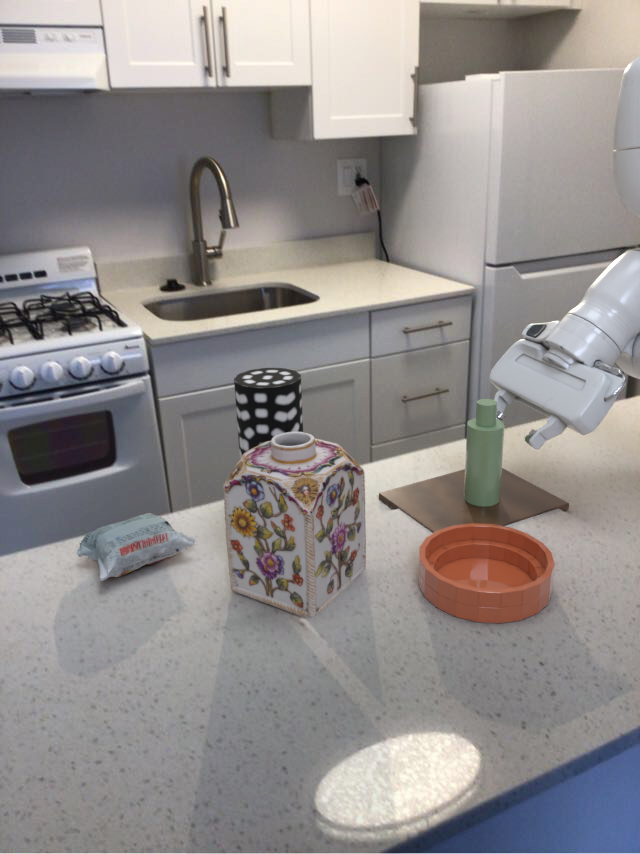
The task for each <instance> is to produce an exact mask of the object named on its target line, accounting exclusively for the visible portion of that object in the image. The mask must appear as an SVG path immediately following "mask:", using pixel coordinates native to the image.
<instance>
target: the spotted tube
mask: <svg viewBox="0 0 640 854" xmlns="http://www.w3.org/2000/svg"><path fill="white" fill-rule="evenodd" d="M233 383H234V397H235V411H236V412H235V413H236V425H237V438H238V450H239V452H238V453H239V459H240V458H241V456H242V455H243V454H244V453H245V452H246V451H248V450H250V449H252V448H254V447H256V446H258V445H260V444H262V443H264V442H266V441H271V440H272V438H273V437H274V436H276V435H279V434H282V433H287V432H304V419H303V417H304V416H303V415H304V414H303V397H302V395H303V394H302V393H303V391H302V389H303V388H302V375H301V373H300V372H298V371H297V370H294V369H290V368H284V367H261V368H254V369H249V370H245V371H242V372H240V373H238V374H236V375H235V376H234V378H233Z"/></svg>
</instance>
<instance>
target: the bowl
mask: <svg viewBox="0 0 640 854" xmlns="http://www.w3.org/2000/svg"><path fill="white" fill-rule="evenodd" d="M555 566H556V563H555V559H554V556H553V553H552V551H551V550H550V548H548V547H547V545H546V544H544V542H543V541H541V540H539V539H537V538H536V537H534V536H533V535H531V534H529V533H527V532H524V531H521V530H519V529H516V528H513V527H510V526H500V525H495V524H478V523H470V524H461V525H453V526H450V527H446V528H443V529H440V530H437V531H436V532H434V533H431V534H429V535H427V536H426V537H425V538H424V540H423V542H422V543H421V544H420V546H419V552H418V587H419V590H420V591H421V593H422V595H423V597H424V599H426V600H427V601H428V602H430V603H431V604H432V605H433V606H435V608H437V609H439V610H441V611H443V612H444V613H447V614H448V615H451V616H453V617H456V618H458V619H463V620H466V621H471V622H475V623H483V624H484V623H485V624H505V623H512V622H518V621H519V622H520V621H522V620H525V619H527V618H530V617H533V616H535V615H537V614H539V613H540V612H541V611H542V610H543V609H544V608H546V607H547V606H548V604H549V603H550V600H551V597H552V595H553V588H554V578H555Z"/></svg>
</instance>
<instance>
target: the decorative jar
mask: <svg viewBox="0 0 640 854" xmlns="http://www.w3.org/2000/svg"><path fill="white" fill-rule="evenodd" d="M365 476H366V475H365V470H364V468H363V467H362V466H361V465H360V463H358V462H357V461H356V459H355V458H354V457H352V456H351V455H350V454H349V453H348V452H347V451H346V450H345V449H344V447H342V446H341V445H340V444H339V443H336V442H333V441H332V442H331V441H328V440H325V439H320V438H315V436H314V435H313V434H310V433H308V432H305V431H303V432H287V433H282V434H279V435H276V436H274V437H273V438H272V440H271V441H266V442H264V443H262V444H260V445H258V446H256V447H254V448H252V449H250V450H248V451H246V452H245V453H244V454H243V455H242V456H241V458H240V457H239V459H238V461H237V463H236V464H235V466H234V468H233V469H232V471H231V473H230V474H229V476H228V477H227V479H226V480H225V481H224V482H223V485H222V490H223V505H224V506H223V508H224V509H223V511H224V523H225V541H226V542H225V543H226V553H227V561H228V562H227V563H228V570H229V571H228V572H229V582H230V589H231V591H232V592H233V593H236V594H239V595H242V596H245V597H248V598H250V599H253V600H256V601H259V602H261V603H263V604H267V605H269V606H272V607H275V608H277V609H281V610H283V611H285V612H288V613H290V614H293V615H295V616H298V617H301V618H304V619H306V617H305V616H304V615H306V616H308V617H311V618H314V617H317V616H318V614H320V612H321V611H322V610H324V609H325V608H326V607H328V605H329V604H330V603H331V602H332V601H334V600H335V598H336V597H337V596H339V594H341V592H343V591H344V590H345V589H346V588H347V587H348V586H349V585H350V584H351V583H352V582H353V581H354V580H356V578H358V577H359V576H360V575H361V574H362V573H363V572H364V571H365V570H366V566H367V565H366V564H367V533H366V532H367V531H366V485H365V482H366V481H365Z"/></svg>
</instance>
